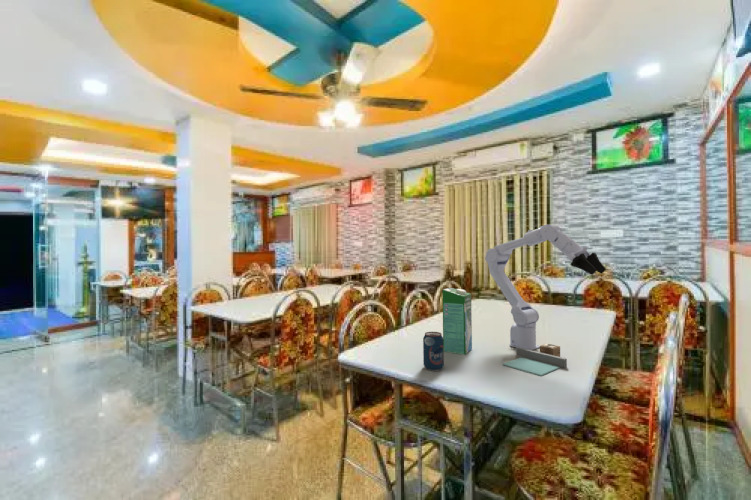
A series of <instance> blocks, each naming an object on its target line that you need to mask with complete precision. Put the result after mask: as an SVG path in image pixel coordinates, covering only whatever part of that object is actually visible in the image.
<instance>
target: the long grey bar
mask: <svg viewBox="0 0 751 500" xmlns="http://www.w3.org/2000/svg"><path fill="white" fill-rule="evenodd" d="M515 348H516V350H515V355H516V357H519V358H521V357H523V358H526V359H530V360H534V361H538V362H542V363H546V364H550V365H554V366H558V367H560V368H562V369H566V368H567V367H568V364H567V361H568V359H567V358H565V357H561V356H560V357H558V356H554V355H549V354H545V353H541V352H540V351H535V350H528V349H524V348H519V347H518V348H517V347H515Z"/></svg>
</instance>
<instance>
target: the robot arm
mask: <svg viewBox="0 0 751 500" xmlns="http://www.w3.org/2000/svg"><path fill="white" fill-rule="evenodd" d="M546 241H549V242H550V244H552V245H553V246H554V247H555V248H557V249H558V250H559V251H560V252H561V253H562V254H563V255H565V256H566V258H567V259H568V260H569V261H571V263H570V264H569V265H570V266H571V267H574V268H578V269H580V270H582V271H584V272H585V273H587V274H589V275H592V276H593V275H594V274H595V273H596V272H597V273H600V274H603V273H604V272H605V271H606V270H607V268H606V267H605V266H604V264H602V262H601V261H600V259H599V257H598V255H597V253H596V252H592V253H590V252H588V251H587V250H588V249H589V247H588V246H583V247H582V246H581V245H580V244H578V243H577V242H576V241H575V240H574V239H572V238H571V237H569V236H568V235H567V234H566V233H564V232H563V231H562V229H561V228H560V226H558V225H556V224H544V225H541V226H539V227H538V228H536V229H529V230H527V232H525V233H524V234H523V237H520V238H516V239H513V240H509V241H506V242H503V243H500V244H499V245H495V246H493V247H492V248H488V249H487V251H486V253H485V257H484V260H485V261H486V263H487V266H488V270H489V274H490V275H491V277H492V279H493V281H494V282H495V284H496V285H497V286H498V288H499V290H500V291H501V293H502V295H504V297H505V299H506V301H507V302H508V303H509V305H510V307H511V310H510V313H511V315H512V319H513V321H514V324H512V325H511V326H510V330H509V332H510V334H509V337H510V344H509V346H510V347H513V348H518V347H519V348H524V349H528V350H532V351H535V350H537V349H540V345H537V331H536V329H537V322H538V321H539V319H540V316H539V312H538V311H537V310H536V309H535V308H533V306H532V305H531V304H529V303H528V302H526V301H525V300H524V299H523V298H522V296H521V295H520V292H519V291H518V290H517V288H516V286H514V284H513V282H511V280H510V278H509V277H508V276H507V273H506V272H505V271H504V270H505V267H506V266H507V264H508V262H509V260H510V259H511V255H512V254H513V250H516V249H518V248H521V247H523V246H525V245H526V246H529V247H533V246H536V245H538V244H541V243H544V242H546Z"/></svg>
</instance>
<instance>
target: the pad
mask: <svg viewBox="0 0 751 500" xmlns="http://www.w3.org/2000/svg"><path fill="white" fill-rule="evenodd" d="M502 366H504V367H508V368H512V369H515V370H519V371H522V372H526V373H529V374H531V375H532V374H533V375H535V376H538V377H539V376H540V377H543V376H545V375H548V374H550V373H552V372H555V371H557V370H559V369H560V368H561V367H558V366H554V365H550V364H546V363H542V362H538V361H534V360H531V359H527V358H523V357H519V358H516V359H513V360H510V361H507V362H504V363H502Z"/></svg>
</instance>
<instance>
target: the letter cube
mask: <svg viewBox="0 0 751 500" xmlns="http://www.w3.org/2000/svg"><path fill="white" fill-rule="evenodd" d="M539 346H540V347H539V352H541V353H545V354H549V355H554V356H558V357H561V346H560V345H557V344H552V343H543V344H541V345H539Z"/></svg>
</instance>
